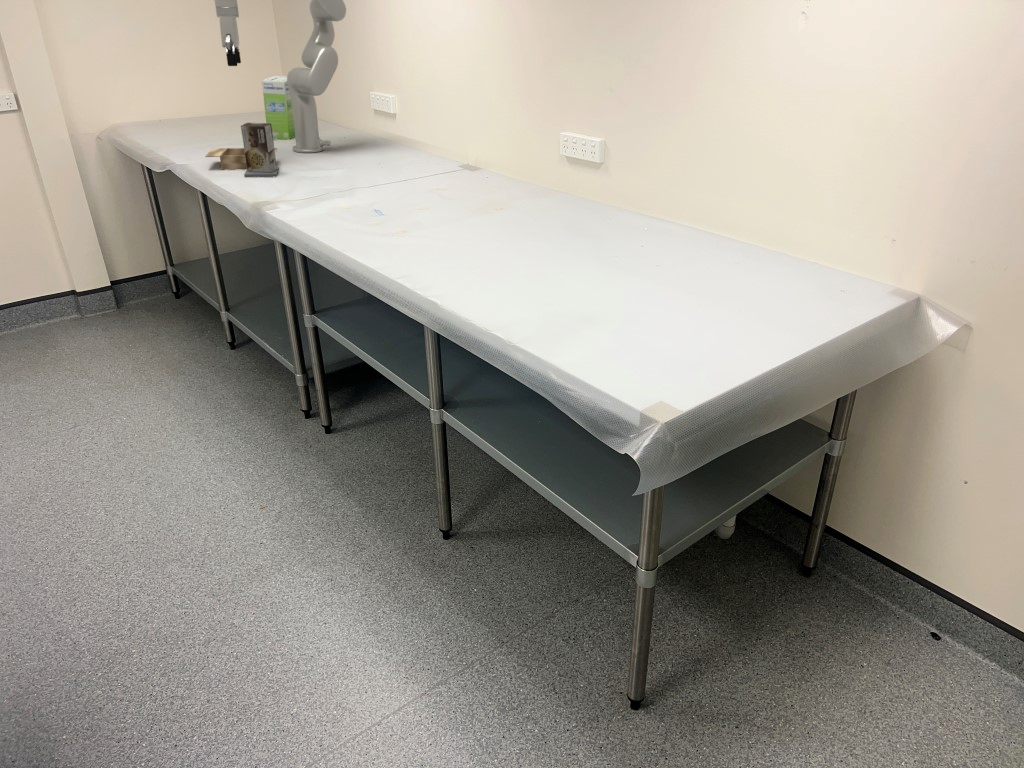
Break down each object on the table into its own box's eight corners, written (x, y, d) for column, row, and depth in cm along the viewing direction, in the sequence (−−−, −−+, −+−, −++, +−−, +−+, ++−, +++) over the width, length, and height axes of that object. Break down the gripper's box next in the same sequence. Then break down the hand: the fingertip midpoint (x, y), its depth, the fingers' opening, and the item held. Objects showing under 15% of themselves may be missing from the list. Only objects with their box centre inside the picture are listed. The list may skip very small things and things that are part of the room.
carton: (278, 161, 290) (277, 148, 287) (275, 169, 277) (273, 155, 275) (214, 161, 285) (211, 148, 283) (207, 170, 273) (205, 156, 271)
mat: (279, 169, 278) (279, 166, 277) (276, 176, 267) (276, 174, 267) (248, 169, 276) (248, 166, 275) (244, 177, 266) (244, 174, 265)
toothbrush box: (290, 139, 327) (284, 81, 316) (267, 139, 327) (260, 80, 316) (302, 132, 343) (296, 76, 331) (279, 131, 343) (273, 75, 331)
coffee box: (277, 168, 274) (272, 123, 266) (271, 172, 268) (265, 126, 260) (253, 167, 274) (247, 121, 267) (246, 171, 269) (240, 125, 261)
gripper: (220, 11, 272) (227, 62, 280) (212, 13, 257) (220, 67, 266) (241, 11, 274) (248, 62, 282) (235, 14, 259) (242, 67, 267)
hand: (234, 64), depth 274 cm, fingers open, 9 cm apart
